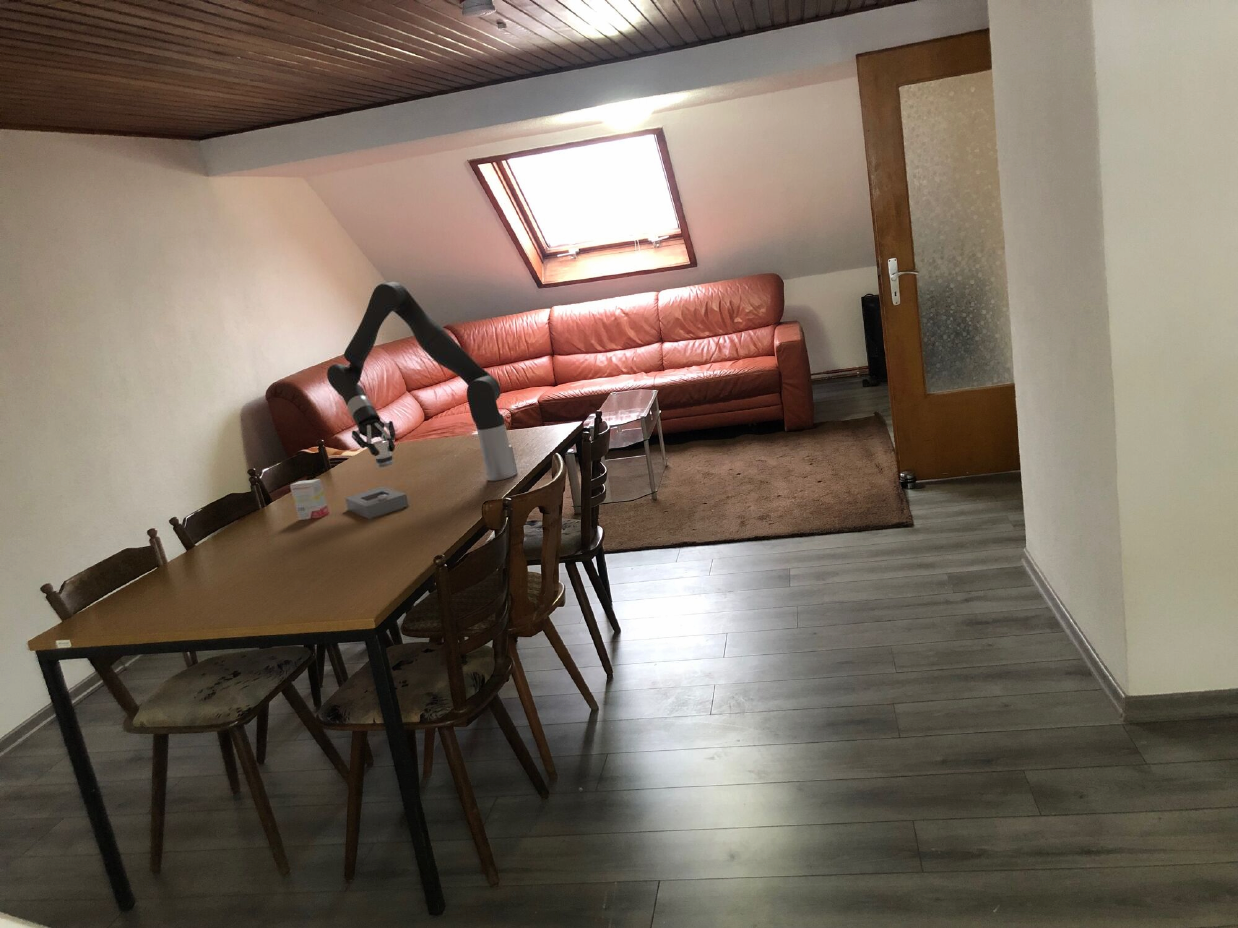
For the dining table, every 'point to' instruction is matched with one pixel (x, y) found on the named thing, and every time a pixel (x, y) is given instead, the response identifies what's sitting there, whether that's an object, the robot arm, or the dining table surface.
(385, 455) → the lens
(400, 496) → the grey slotted tray
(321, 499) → the ink box
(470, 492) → the dining table surface
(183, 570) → the dining table surface
